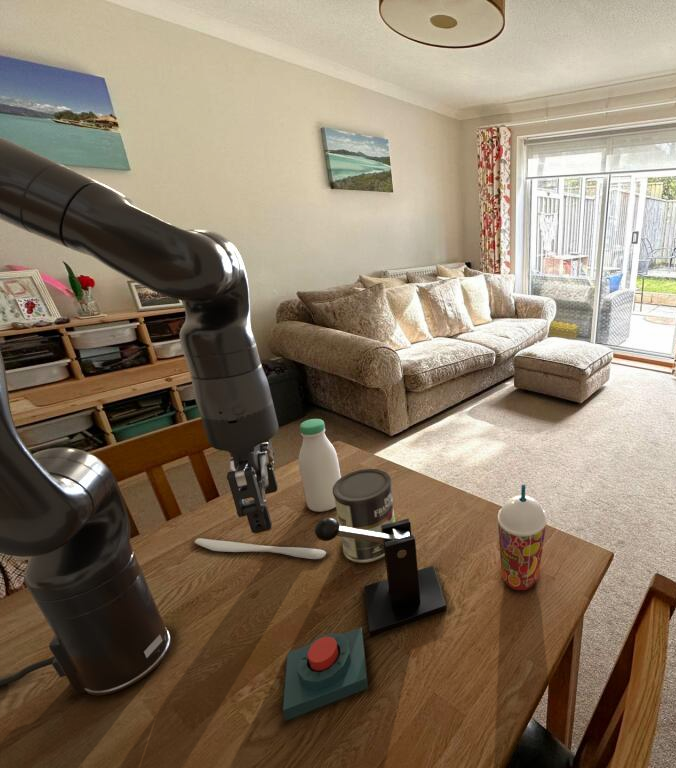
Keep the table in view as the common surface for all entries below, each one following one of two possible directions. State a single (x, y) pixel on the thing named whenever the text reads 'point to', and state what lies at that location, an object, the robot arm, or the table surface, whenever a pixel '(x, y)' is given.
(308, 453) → the milk bottle
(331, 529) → the lever
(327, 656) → the button
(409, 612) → the bracket
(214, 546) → the butter knife
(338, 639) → the button block
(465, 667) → the table surface
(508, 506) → the smoothie
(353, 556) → the coffee can
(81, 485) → the robot arm
